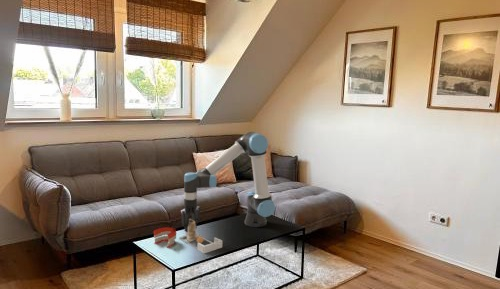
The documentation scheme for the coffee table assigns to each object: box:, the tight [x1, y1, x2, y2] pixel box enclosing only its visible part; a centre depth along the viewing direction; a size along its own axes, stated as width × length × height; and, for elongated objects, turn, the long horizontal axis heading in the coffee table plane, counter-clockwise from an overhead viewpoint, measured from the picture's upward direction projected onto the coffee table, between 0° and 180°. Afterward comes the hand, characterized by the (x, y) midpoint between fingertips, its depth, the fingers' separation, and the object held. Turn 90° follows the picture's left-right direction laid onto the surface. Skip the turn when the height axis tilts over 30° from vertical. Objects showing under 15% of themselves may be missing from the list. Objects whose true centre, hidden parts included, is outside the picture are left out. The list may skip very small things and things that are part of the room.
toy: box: [153, 226, 177, 249], centre depth 217 cm, size 12×10×8 cm
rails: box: [178, 235, 214, 249], centre depth 220 cm, size 12×20×1 cm, turn 44°
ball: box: [195, 236, 204, 244], centre depth 217 cm, size 4×4×4 cm
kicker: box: [185, 218, 200, 243], centre depth 223 cm, size 8×6×12 cm
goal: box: [196, 237, 223, 254], centre depth 210 cm, size 13×6×4 cm, turn 134°
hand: (190, 235), depth 224 cm, fingers closed on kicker, 4 cm apart
